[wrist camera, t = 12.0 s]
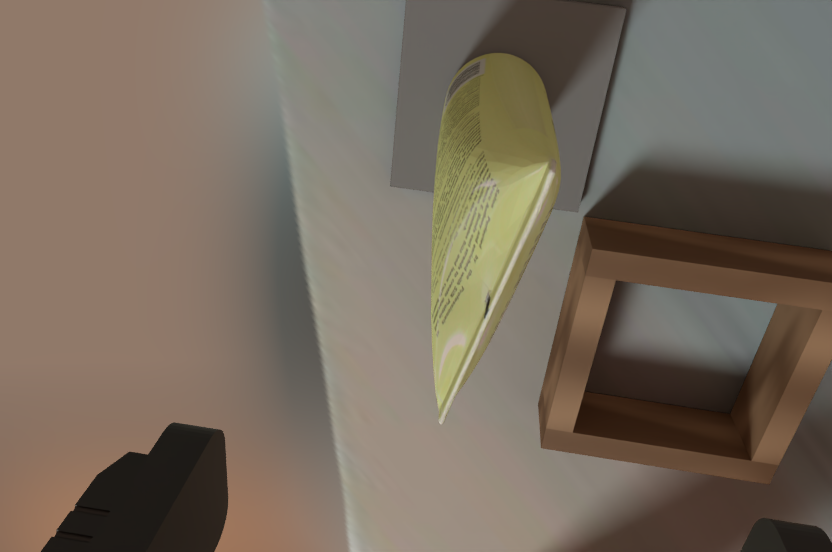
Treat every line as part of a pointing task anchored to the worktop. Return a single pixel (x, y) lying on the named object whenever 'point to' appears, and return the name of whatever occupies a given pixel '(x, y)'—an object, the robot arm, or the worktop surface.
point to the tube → (486, 207)
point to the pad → (517, 35)
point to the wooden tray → (674, 425)
